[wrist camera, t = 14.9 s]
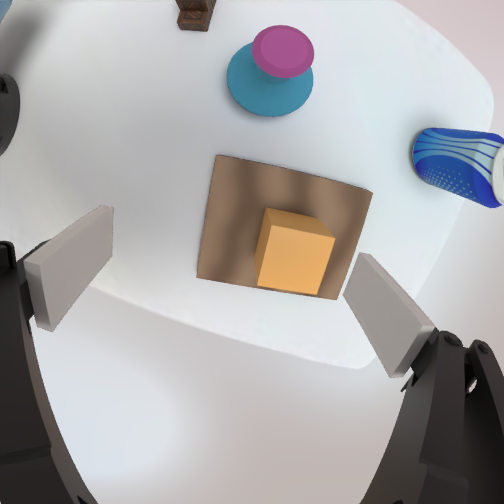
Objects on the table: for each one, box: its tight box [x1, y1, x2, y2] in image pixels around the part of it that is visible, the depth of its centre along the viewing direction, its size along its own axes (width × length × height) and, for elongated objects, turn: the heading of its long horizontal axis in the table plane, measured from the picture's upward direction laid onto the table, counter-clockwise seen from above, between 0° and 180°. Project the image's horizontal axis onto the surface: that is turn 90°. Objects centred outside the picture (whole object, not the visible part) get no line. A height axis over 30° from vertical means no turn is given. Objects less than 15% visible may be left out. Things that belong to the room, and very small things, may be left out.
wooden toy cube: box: [254, 207, 335, 295], centre depth 31 cm, size 6×6×7 cm
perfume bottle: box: [227, 25, 314, 117], centre depth 23 cm, size 9×9×15 cm
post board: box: [196, 155, 373, 300], centre depth 33 cm, size 20×16×9 cm
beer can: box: [412, 128, 504, 208], centre depth 26 cm, size 8×8×16 cm
